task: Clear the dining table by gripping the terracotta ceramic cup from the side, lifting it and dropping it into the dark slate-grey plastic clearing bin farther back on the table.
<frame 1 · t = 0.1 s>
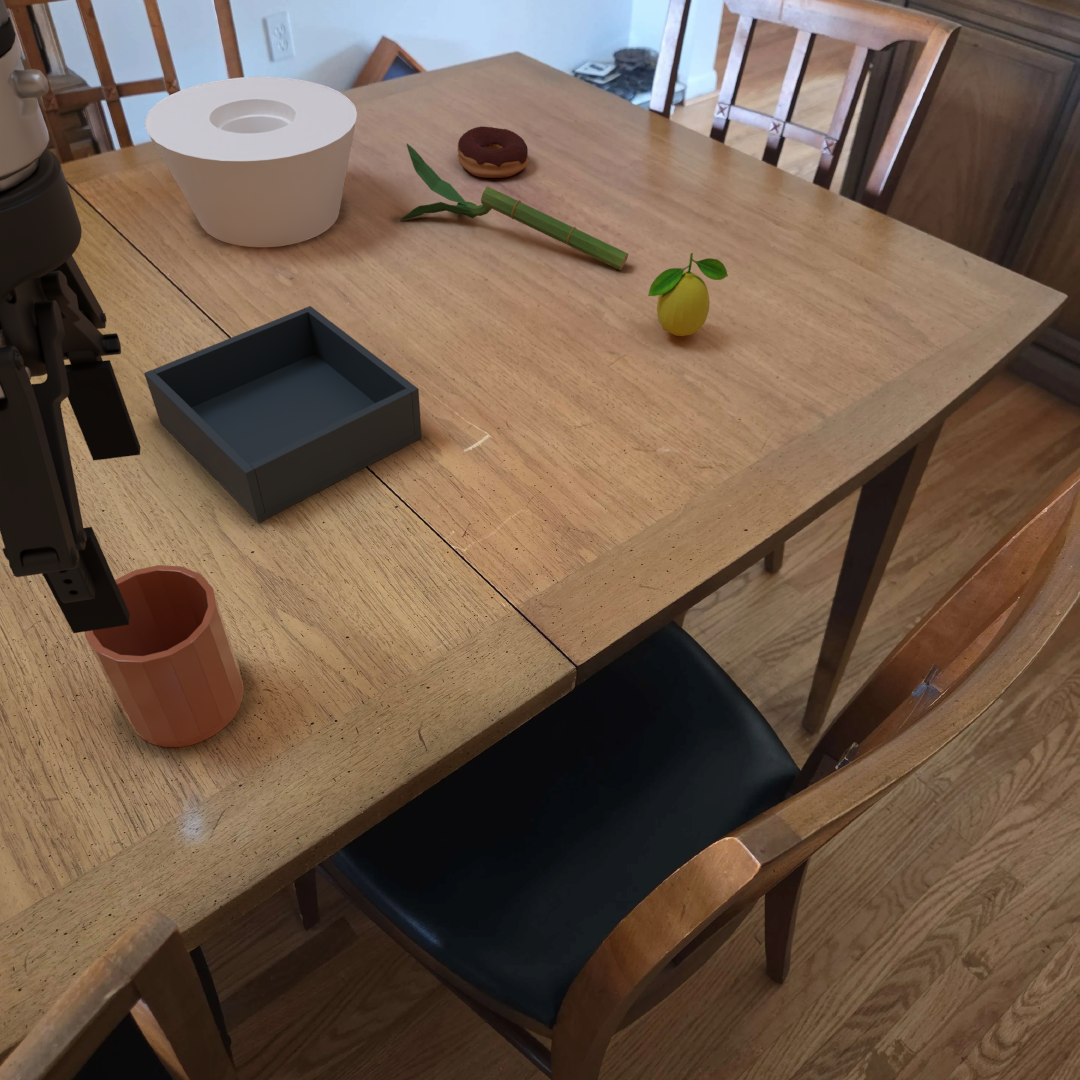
hand: (110, 531, 53), 19 cm above the table, tool pointing down, fingers open, 13 cm apart
cup: (186, 699, 67), on the table
lemon: (678, 336, 102), on the table
white tapered round pot: (270, 214, 117), on the table
bin: (291, 430, 88), on the table
donut: (493, 167, 129), on the table
decorative plant: (515, 240, 115), on the table
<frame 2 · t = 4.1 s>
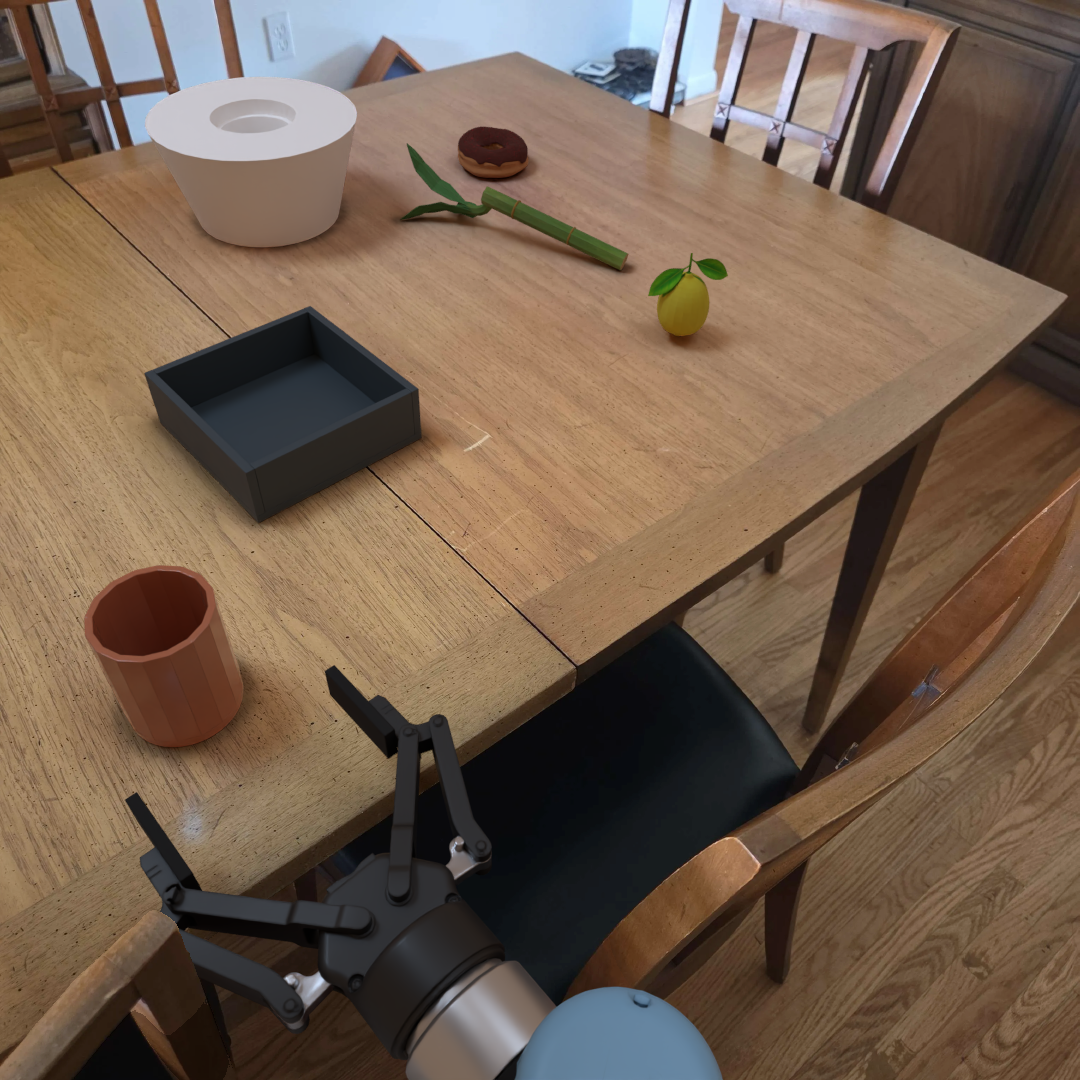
hand: (239, 739, 58), 6 cm above the table, tool horizontal, fingers open, 13 cm apart
nothing on the table moved.
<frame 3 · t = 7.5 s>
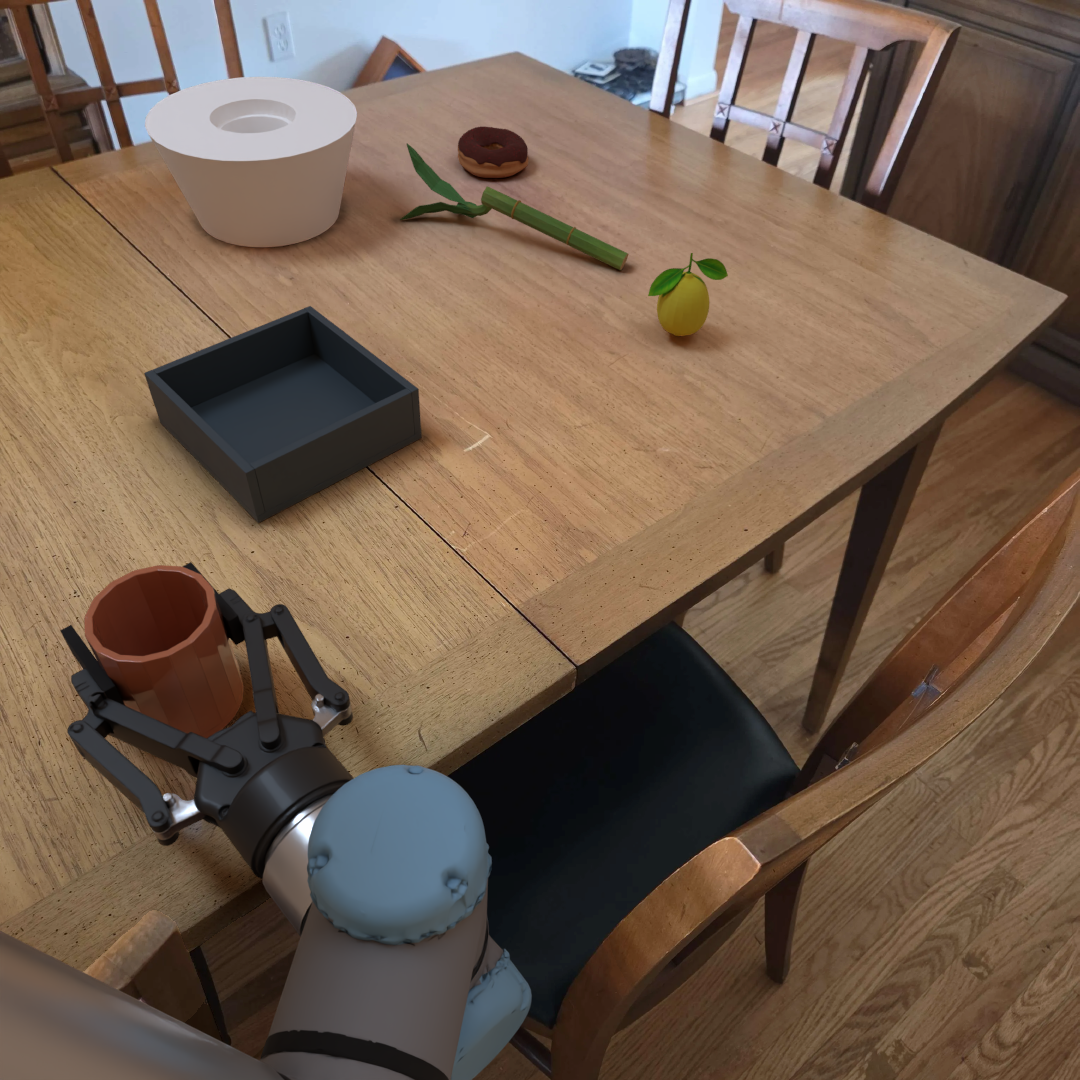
hand: (133, 607, 65), 6 cm above the table, tool horizontal, fingers closed on cup, 8 cm apart
cup: (186, 699, 67), on the table, touching gripper
everything else where it was.
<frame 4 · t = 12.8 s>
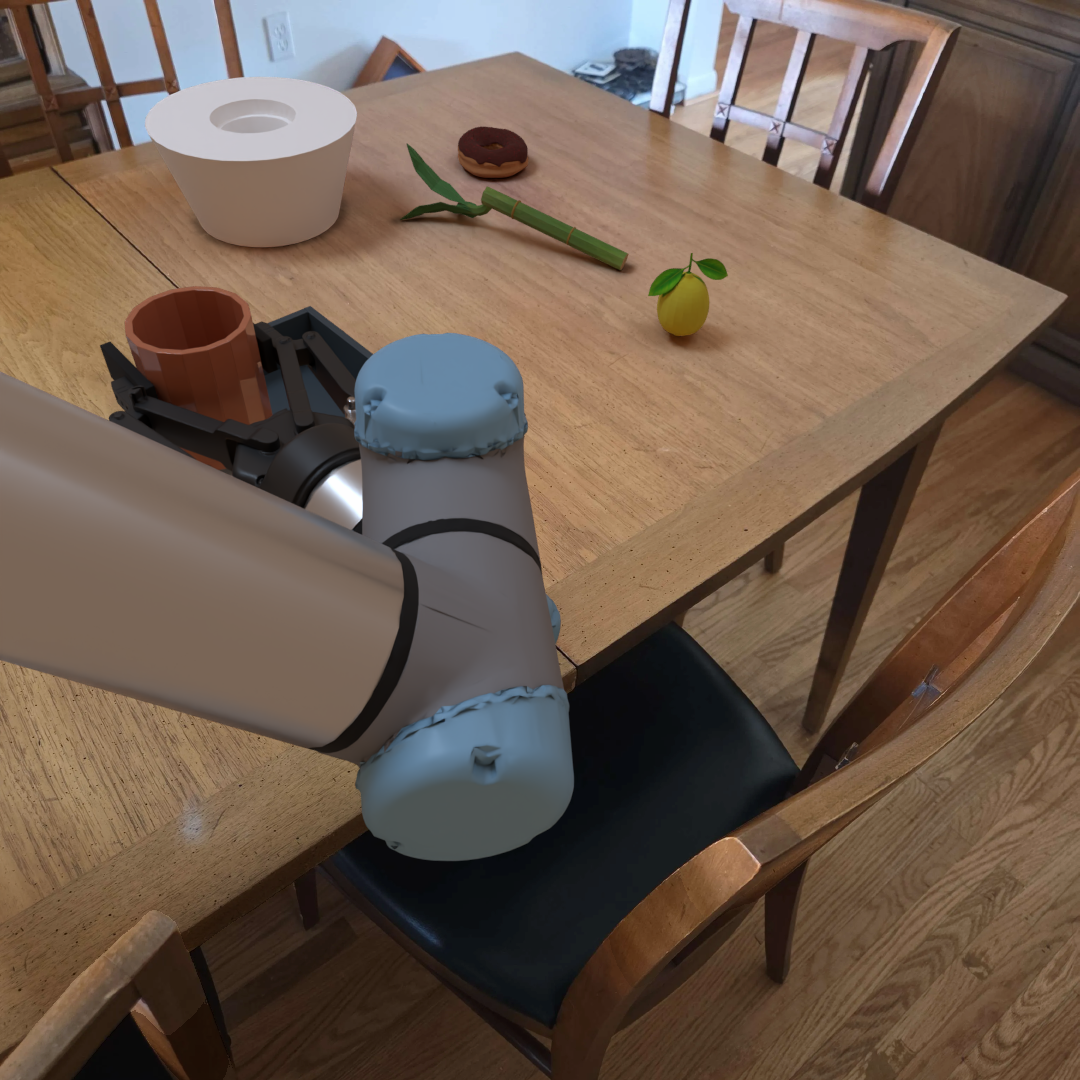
hand: (169, 337, 67), 18 cm above the table, tool horizontal, fingers closed on cup, 8 cm apart
cup: (219, 434, 69), point 12 cm above the table, touching gripper
everything else where it was.
when the fingers open (9 cm above the table, at t = 18.0 s): cup drops 2 cm, resting on bin.
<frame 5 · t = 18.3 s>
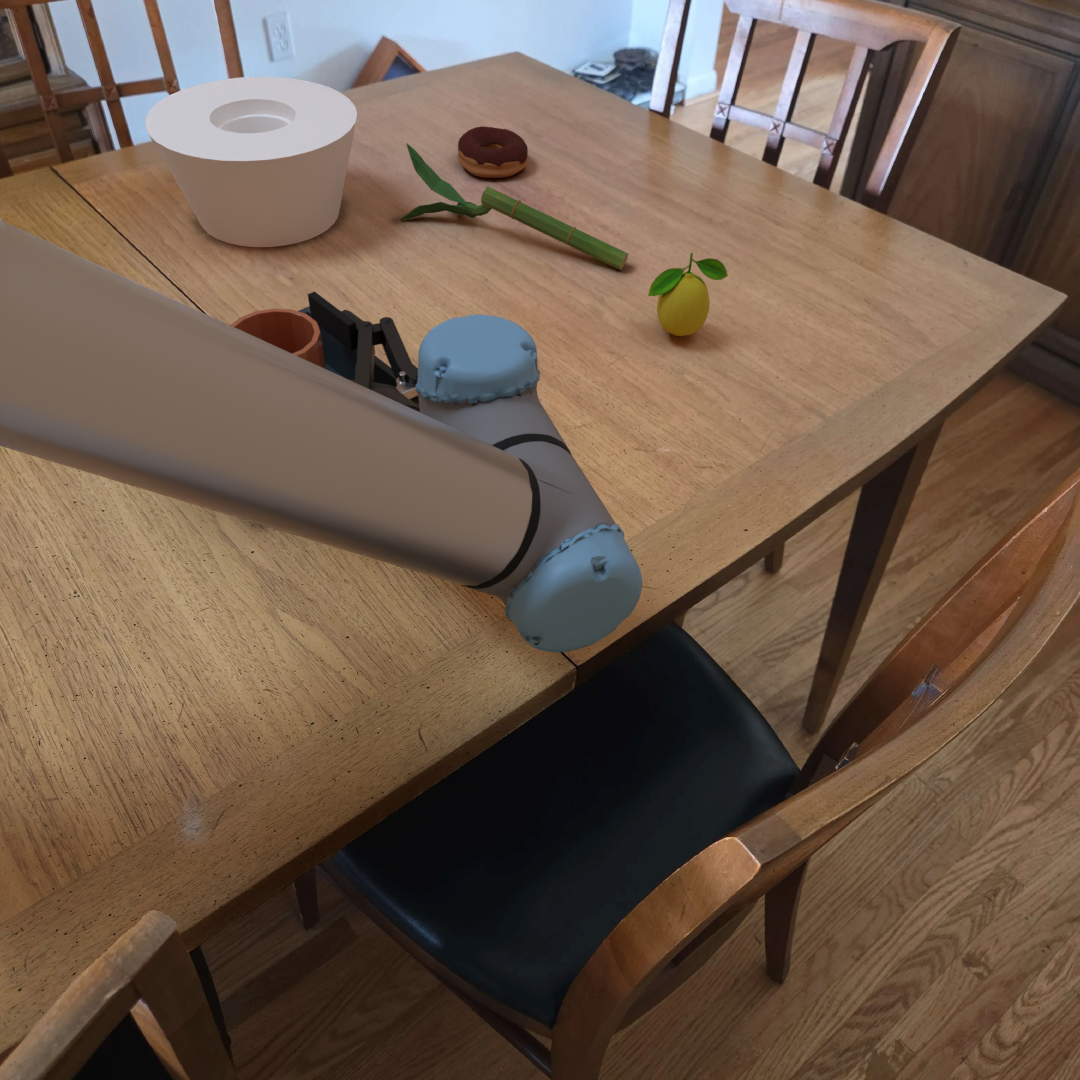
hand: (252, 329, 83), 9 cm above the table, tool horizontal, fingers open, 12 cm apart
cup: (290, 424, 87), point 1 cm above the table, touching bin
everything else where it was.
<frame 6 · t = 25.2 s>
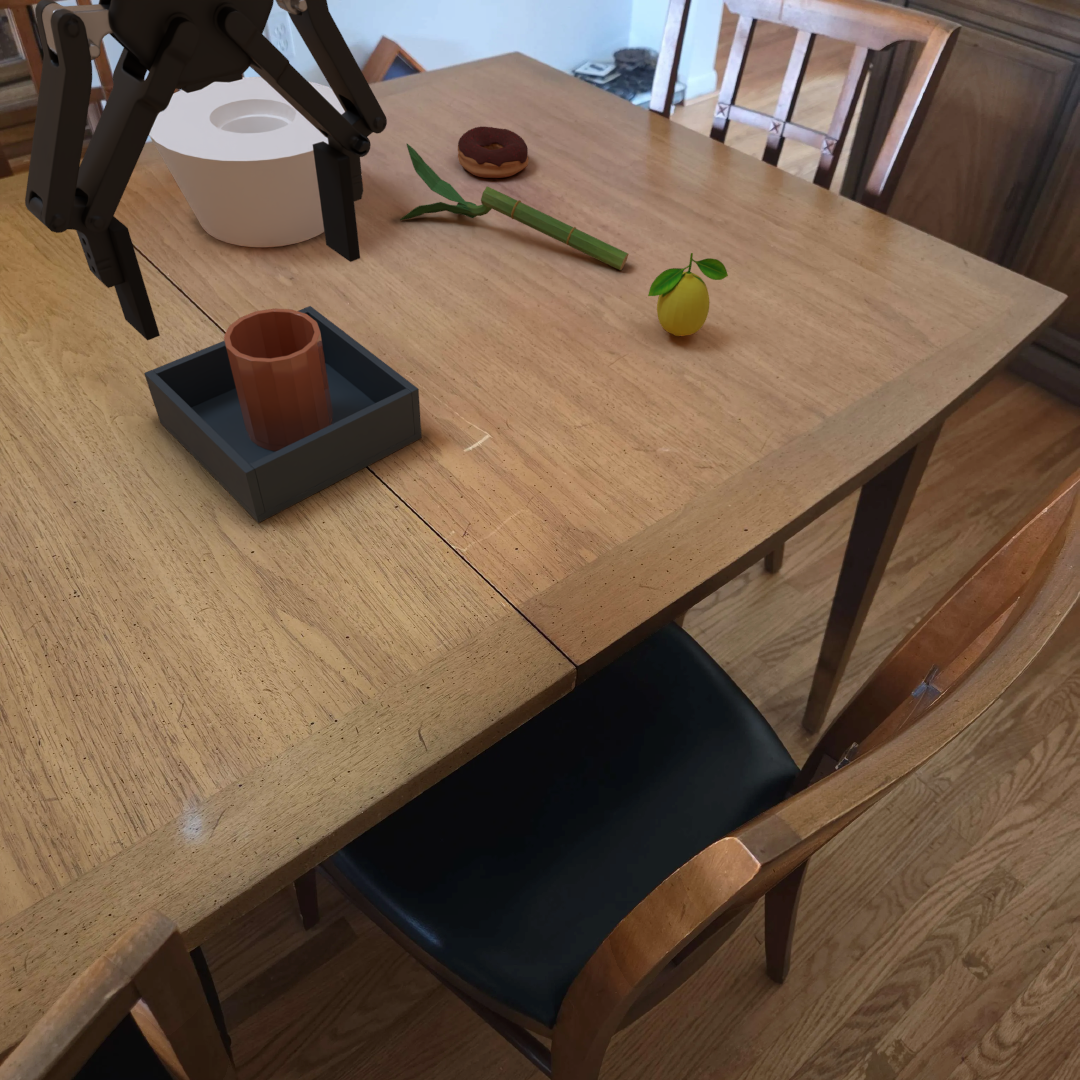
hand: (248, 288, 56), 27 cm above the table, tool pointing down, fingers open, 13 cm apart
nothing on the table moved.
at the end: cup inside the target area in the bin (0.1 cm from its centre), point 0.8 cm above the bin's base; the gripper is holding nothing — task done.
